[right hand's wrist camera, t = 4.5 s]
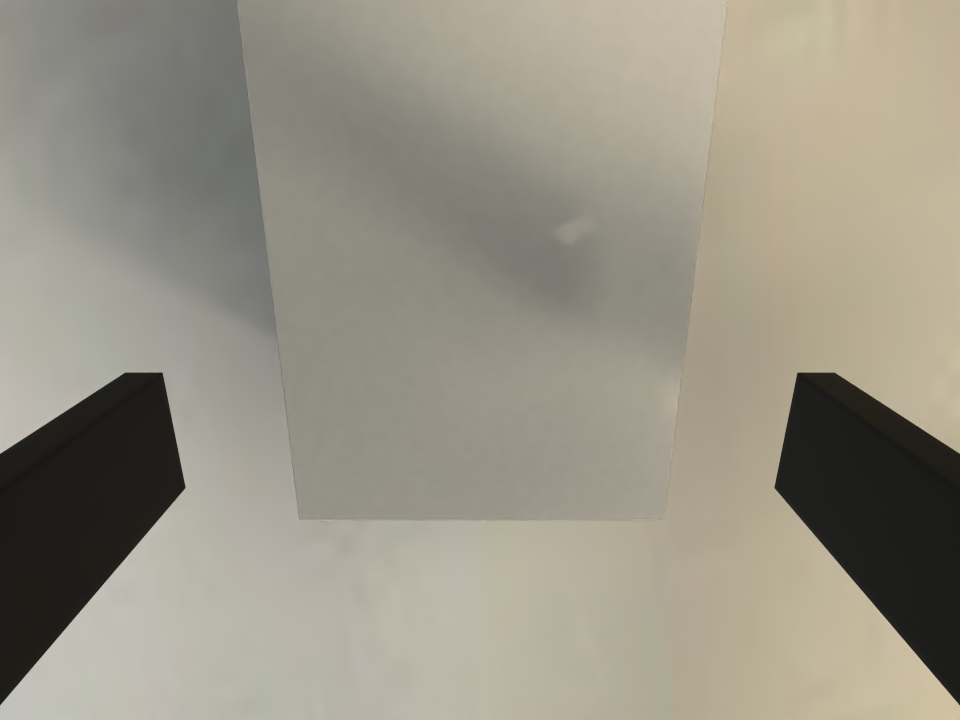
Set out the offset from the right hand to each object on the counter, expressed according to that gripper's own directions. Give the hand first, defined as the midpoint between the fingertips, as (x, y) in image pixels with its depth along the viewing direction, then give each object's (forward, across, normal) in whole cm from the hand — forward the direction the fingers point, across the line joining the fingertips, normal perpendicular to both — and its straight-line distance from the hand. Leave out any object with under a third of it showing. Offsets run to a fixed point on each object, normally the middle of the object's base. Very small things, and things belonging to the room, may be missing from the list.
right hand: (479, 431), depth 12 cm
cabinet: (+14, 0, -6) cm, 15 cm away
